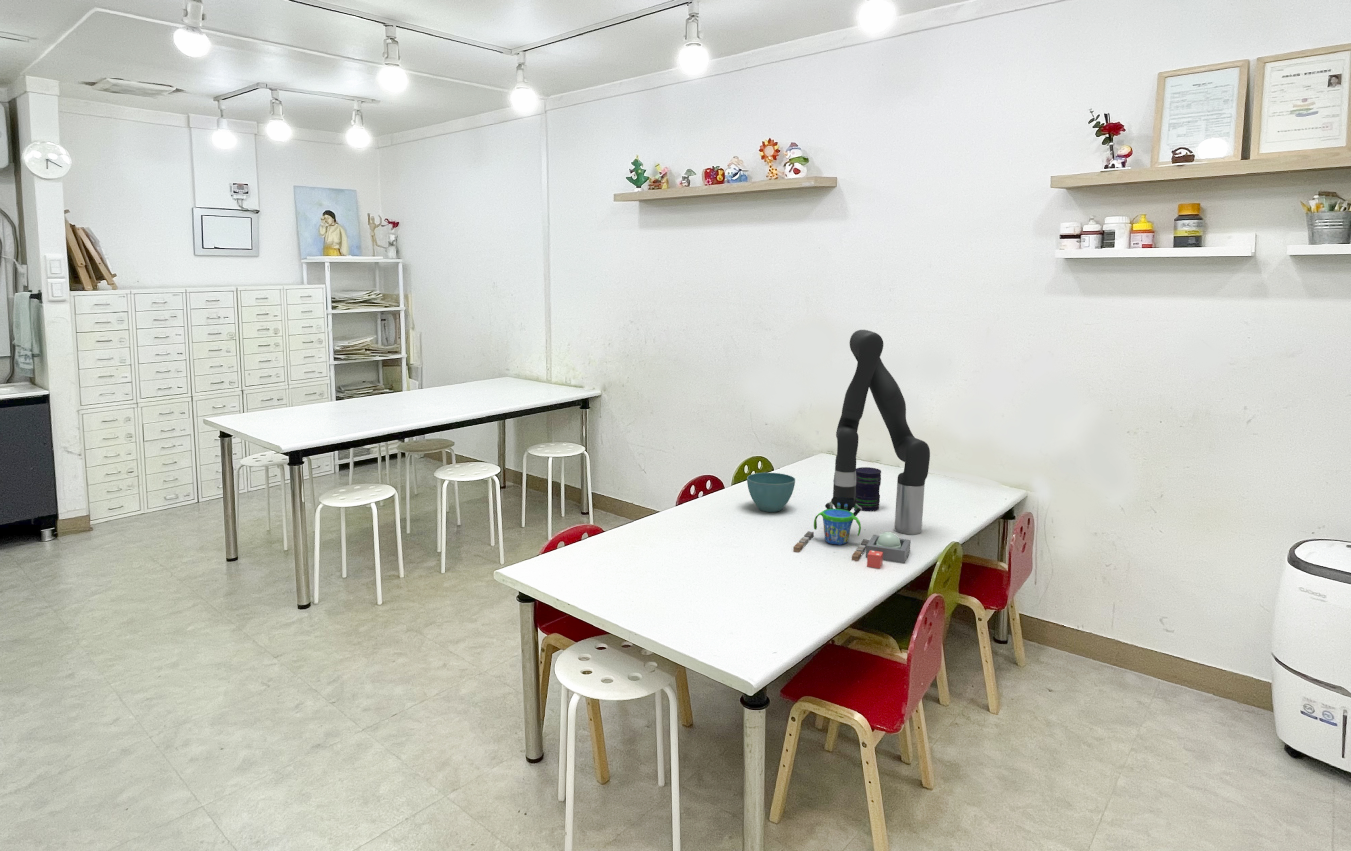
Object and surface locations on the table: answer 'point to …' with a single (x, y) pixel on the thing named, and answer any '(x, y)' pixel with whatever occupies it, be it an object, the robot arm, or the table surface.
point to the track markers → (809, 535)
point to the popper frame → (890, 550)
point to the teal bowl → (770, 490)
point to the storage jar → (868, 488)
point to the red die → (874, 559)
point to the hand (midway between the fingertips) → (842, 531)
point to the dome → (889, 540)
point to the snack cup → (837, 525)
